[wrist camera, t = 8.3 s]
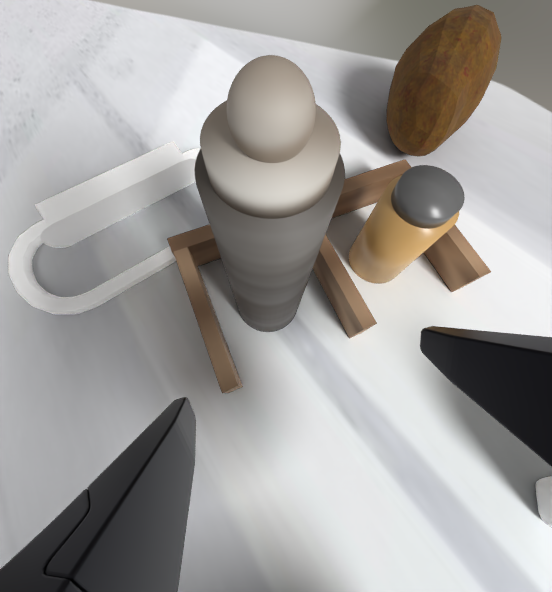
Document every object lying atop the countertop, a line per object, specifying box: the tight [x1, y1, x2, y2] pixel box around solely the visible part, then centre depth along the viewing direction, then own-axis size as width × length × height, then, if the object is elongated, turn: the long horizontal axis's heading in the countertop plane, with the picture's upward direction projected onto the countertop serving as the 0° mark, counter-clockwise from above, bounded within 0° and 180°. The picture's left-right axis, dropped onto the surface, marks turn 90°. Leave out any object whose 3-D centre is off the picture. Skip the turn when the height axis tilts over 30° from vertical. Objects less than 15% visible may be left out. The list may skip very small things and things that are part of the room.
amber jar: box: [349, 165, 464, 284], centre depth 18 cm, size 4×4×8 cm
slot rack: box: [167, 160, 491, 393], centre depth 20 cm, size 11×20×3 cm, turn 114°
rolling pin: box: [8, 141, 209, 315], centre depth 21 cm, size 20×8×4 cm, turn 127°
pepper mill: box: [194, 55, 345, 332], centre depth 13 cm, size 5×5×16 cm
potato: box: [387, 5, 501, 156], centre depth 23 cm, size 8×12×9 cm
